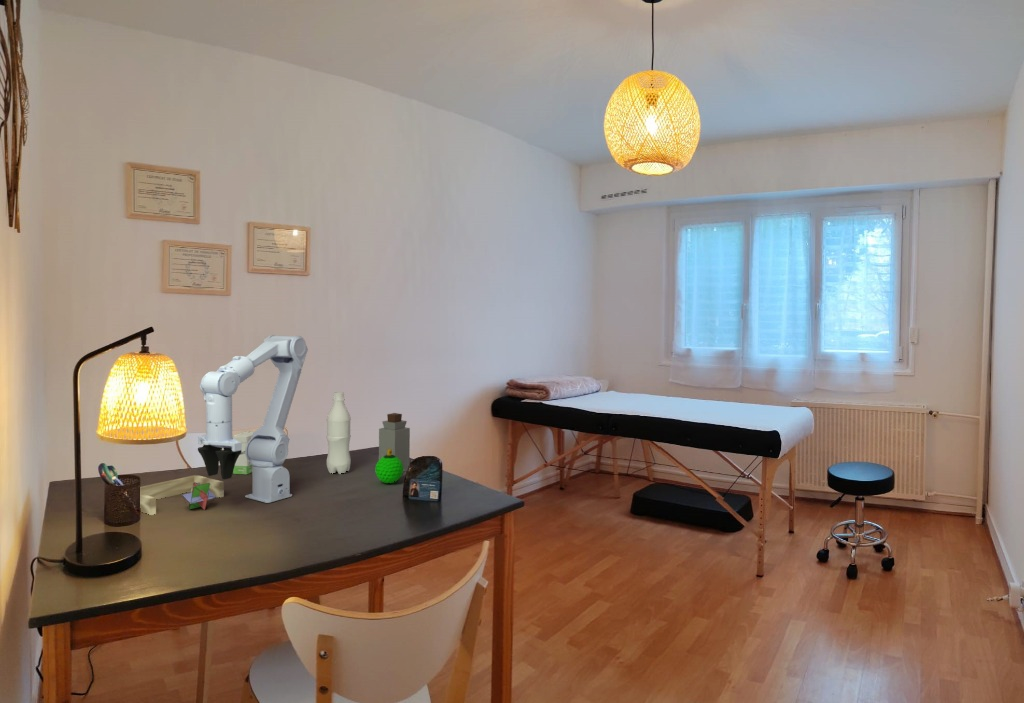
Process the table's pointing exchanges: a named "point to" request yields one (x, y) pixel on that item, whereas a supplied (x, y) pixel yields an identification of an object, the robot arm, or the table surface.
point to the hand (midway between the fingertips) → (219, 476)
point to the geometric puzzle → (199, 495)
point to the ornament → (389, 468)
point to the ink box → (243, 454)
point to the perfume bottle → (395, 438)
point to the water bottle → (338, 436)
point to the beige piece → (174, 490)
